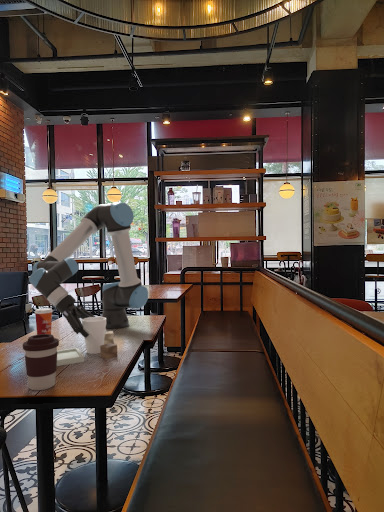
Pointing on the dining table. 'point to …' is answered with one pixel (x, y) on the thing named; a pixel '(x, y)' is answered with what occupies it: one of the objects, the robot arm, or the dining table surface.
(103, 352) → the walnut block
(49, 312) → the paper cup
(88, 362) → the dining table surface
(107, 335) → the beech block
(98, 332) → the foam cup
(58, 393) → the dining table surface
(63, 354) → the tray
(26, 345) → the coffee cup
